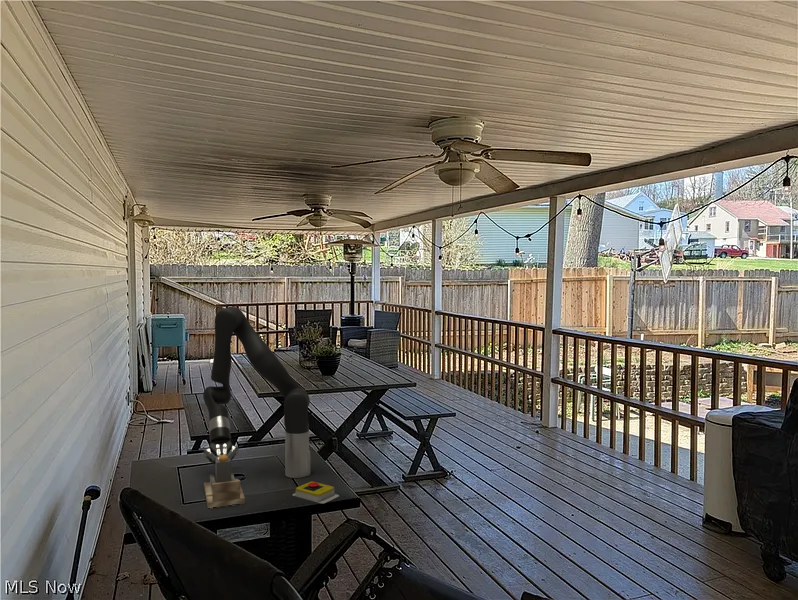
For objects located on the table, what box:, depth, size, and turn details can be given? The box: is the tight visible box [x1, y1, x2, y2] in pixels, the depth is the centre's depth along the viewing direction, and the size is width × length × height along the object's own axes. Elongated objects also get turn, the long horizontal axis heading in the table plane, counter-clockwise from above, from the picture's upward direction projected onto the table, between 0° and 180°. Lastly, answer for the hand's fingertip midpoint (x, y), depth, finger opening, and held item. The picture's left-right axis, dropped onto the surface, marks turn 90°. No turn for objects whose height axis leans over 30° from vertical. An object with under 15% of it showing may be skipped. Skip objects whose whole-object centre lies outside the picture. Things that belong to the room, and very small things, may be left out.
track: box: [203, 471, 246, 509], centre depth 202 cm, size 12×21×8 cm, turn 22°
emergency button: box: [292, 481, 340, 504], centre depth 203 cm, size 9×4×15 cm
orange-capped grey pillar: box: [214, 454, 232, 483], centre depth 203 cm, size 5×4×12 cm
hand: (222, 473), depth 206 cm, fingers closed
